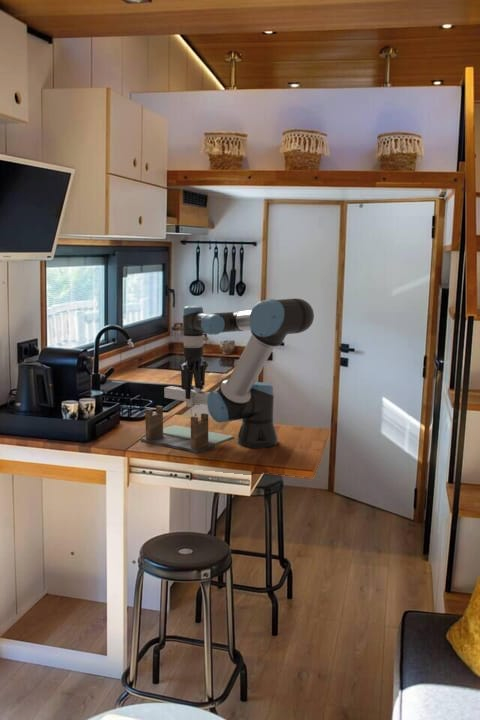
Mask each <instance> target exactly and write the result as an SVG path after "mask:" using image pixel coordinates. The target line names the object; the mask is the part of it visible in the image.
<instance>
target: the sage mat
mask: <svg viewBox="0 0 480 720" xmlns="http://www.w3.org/2000/svg"><path fill="white" fill-rule="evenodd" d="M163 435H167V436H172V437H177V438H182V439H187V440H191V427H186V426H181V425H177V424H173V425H171V426H170V425H169V426H167V427H163ZM234 438H235V436H234V435H229V434H223V433H218V432H214V431H213V432H212V431H209V430H208V444H211V445H218V444H221V443H223V442H226V441H229V440H231V439H234Z"/></svg>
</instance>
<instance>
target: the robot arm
mask: <svg viewBox="0 0 480 720" xmlns="http://www.w3.org/2000/svg"><path fill="white" fill-rule="evenodd" d="M314 318H315V314H314V309H313V307H312V305H311V304H310V303H309V302H307V301H306V300H304V299H301V298H285V299H282V298H281V299H273V298H272V299H271V298H270V299H269V298H268V299H265V300H260V301H258V302H257V303H255V304H254V306H253V307H252V309H249V310H248V309H247V310H239V311H229V312H227V311H226V312H213V313H212V312H211V313H207V312H204V307H202V306H200V305H187V306H184V308H183V315H182V321H183V322H182V325H183V326H182V327H183V328H182V329H183V331H182V333H183V352H182V353H183V356H184V358H185V359H184V363H182V364H179V368H180V383H181V384H180V385H181V387H180V388H182V389H183V390H185V391H186V401H185V404H186V405H185V406H186V407H188V408H193V406H194V405H196V406H201V404H199V403H193V391H192V390H199V391H202V389H203V388H204V386H205V383H206V365H207V361H206V360H202V357H203V356H204V347H203V346H204V334H207V335H210V336H212V335H215V336H216V335H219V334H222V333H233V332H245V331H247V332H248V331H250V332H251V336H250V338H249V340H248V342H247V343H246V345H245V347H244V349H243V351H242V353H241V355H240V357H239V359H238V361H237V363H236V365H235V366H234V368H233V370H232V372H231V374H230V375H229V378H227V379H225V380H223V381H222V383H221V384H220V385H219V388H218V389H217V390H212V391H209V392H210V393H209V395H208V397H207V405H206V406H207V411H208V413H209V415H210V416H211V418H212V419H213V420H214V421H215V422H217V423H228V422H232V421H237V420H241V425H240V429H239V431H238V435H237V444H238V445H239V446H242V447H246V448H255V449H262V448H271V447H274V446H276V445H278V435H277V432H276V428H275V424H274V397H275V395H274V387H273V385H272V384H269V383H267V382H261V381H257V379H258V378H259V376H260V373H261V372H262V371H263V368H264V366H265V365H266V363H267V361H268V359H269V357H270V356H271V354H272V353H273V350H274V348H277V347H280V345H282V344H283V341H284V340H285V338H286V336H287V335H292V334H294V335H295V334H300V333H303V332H305V331H307V330H308V329H309V328H310V327H311V326H312V324H313V323H314ZM193 379H194V386H195V387H193V389H192V386H193ZM191 389H192V390H191Z"/></svg>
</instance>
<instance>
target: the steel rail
mask: <svg viewBox="0 0 480 720" xmlns="http://www.w3.org/2000/svg"><path fill="white" fill-rule="evenodd" d="M191 390H192V391H193V404H194V403H199V404H200V405H206V406H207V397H208V395H209V393H210V392H211V391H204V390H201V391H199V390H194V389H192V388H191ZM163 391H164V393H163V394H164V395H163V396H164V398H166V399H171V400H176V401H184V402H186V391H185V390H183V389H182V387H179V386H172V385H171V386H166V387H164V389H163Z"/></svg>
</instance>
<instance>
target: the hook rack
mask: <svg viewBox="0 0 480 720" xmlns="http://www.w3.org/2000/svg"><path fill="white" fill-rule="evenodd" d="M144 410H145V411H144V412H145V413H144V414H145V415H144V416H145V417H144V418H145V436H144V437H141V438H140V442H144V443H150V444H153V445H159V446H163V447H168V448H173V449H177V450H182V451H185V452H186V451H187V452H191V453H196V454H201V453H203V452H205V451H209V450H211V449H214V448H215V446H214V445H215V444H210V443H208V431H209V414H208V413H203V412H202V413H200V415H201V416H200V420H199V417H198V416H190V428H191V440H190V439H185V438H180V437H175V436H170V435H165V434H163V428H164V416H163V415H164V406H162V405H155V412H153V409H152V408H145V409H144Z"/></svg>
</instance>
